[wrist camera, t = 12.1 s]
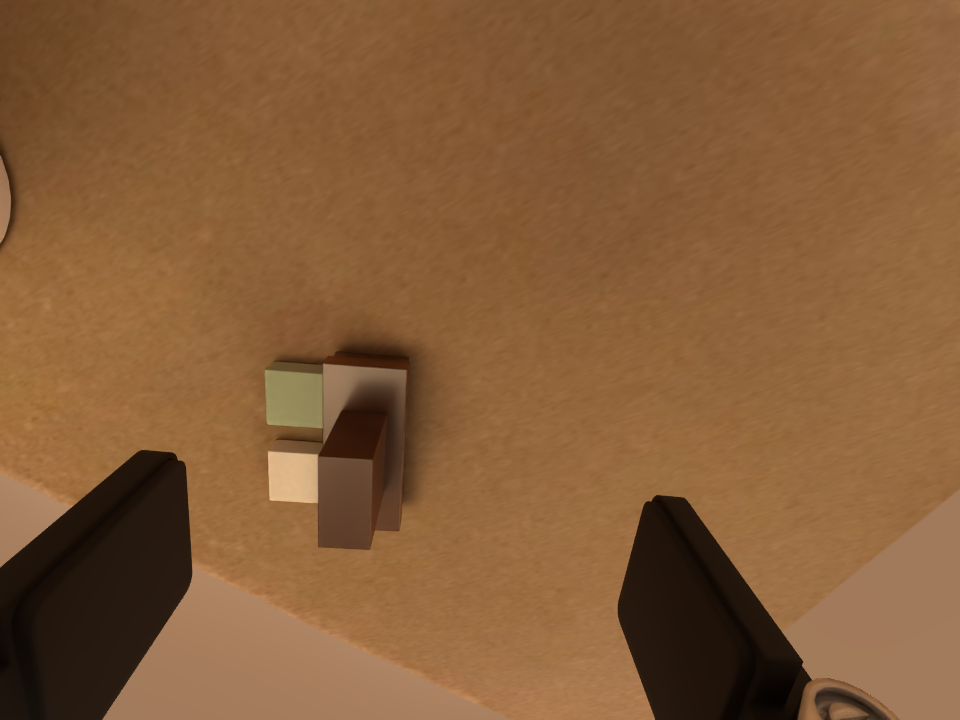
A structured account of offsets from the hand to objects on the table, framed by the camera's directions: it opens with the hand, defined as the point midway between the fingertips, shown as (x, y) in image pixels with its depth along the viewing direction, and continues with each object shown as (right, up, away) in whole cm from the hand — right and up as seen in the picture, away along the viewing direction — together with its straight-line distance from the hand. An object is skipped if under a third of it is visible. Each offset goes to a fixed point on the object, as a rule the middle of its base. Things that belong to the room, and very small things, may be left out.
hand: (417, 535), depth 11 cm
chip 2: (-12, -4, +28) cm, 31 cm away
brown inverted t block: (-7, -2, +27) cm, 28 cm away
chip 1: (-11, +1, +26) cm, 28 cm away
